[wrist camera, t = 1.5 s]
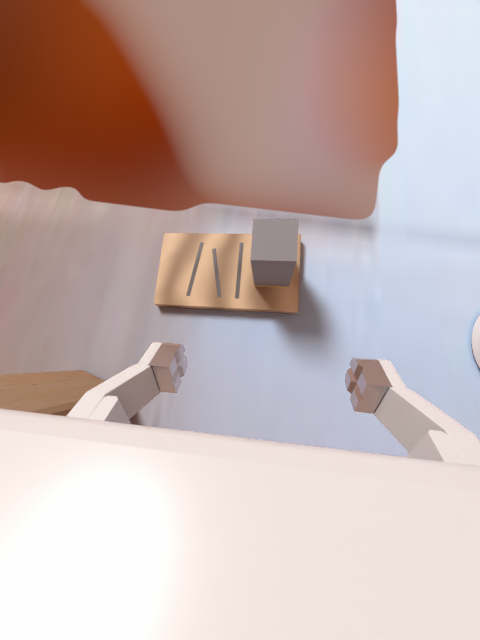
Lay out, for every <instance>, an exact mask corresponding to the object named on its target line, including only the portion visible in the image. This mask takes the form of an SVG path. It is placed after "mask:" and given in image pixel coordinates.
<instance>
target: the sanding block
mask: <svg viewBox="0 0 480 640" xmlns="http://www.w3.org/2000/svg"><path fill="white" fill-rule="evenodd" d="M297 244H298V219H253V232H252V245H251V258H250V261H251V267H252V273H253V280H254V286H258V287H284V288H289V285H290V282H291V278H292V275H293V272H294V269H295V265H296V262H297Z"/></svg>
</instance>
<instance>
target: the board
mask: <svg viewBox="0 0 480 640" xmlns="http://www.w3.org/2000/svg"><path fill="white" fill-rule="evenodd" d="M251 245H252V234H198V233H164V238H163V244H162V251H161V258H160V265H159V272H158V278H157V285H156V292H155V299H154V304H155V305H157V306H164V307H183V308H201V309H220V310H238V311H257V312H275V313H294V314H297V313H298V303H299V277H300V250H301V234H298V244H297V262H296V265H295V269H294V272H293V275H292V278H291V282H290V285H289V288H284V287H258V286H254V280H253V273H252V267H251V261H250V258H251Z"/></svg>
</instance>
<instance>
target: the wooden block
mask: <svg viewBox="0 0 480 640" xmlns="http://www.w3.org/2000/svg"><path fill="white" fill-rule="evenodd" d="M103 382H105V381H104V380H102V379H100V378H98V377H96V376H93V375H91V374H89V373H87V372H85V371H83V370H77V371H60V372H42V373H25V374H7V375H0V408H1V409H9V410H17V411H25V412H34V413H42V414H51V415H59V416H67V415H68V413H69V412H70V411H71V410H72V409H73V407H74V406H75V405H76V404H77V403H78V401H79V400H80V399H81V398H82V396H83V395H84V394H85V393H86V392H87V391H89V390H91V389H93V388H94V387H96V386H98V385H99V384H101V383H103Z"/></svg>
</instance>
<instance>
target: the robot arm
mask: <svg viewBox="0 0 480 640" xmlns="http://www.w3.org/2000/svg"><path fill="white" fill-rule="evenodd" d="M472 350H473V354H474V357H475V360H476V362H477V364H478V366H479V368H480V315H479V317H478V318H477V320H476V322H475V324H474V327H473V331H472ZM184 352H185V348H184V345H181V344H172V343H160V342H153V343H152V344H151V345H150V347H149V348H148V350H147V351H146V353H145V354H144V355H143V357H142V358H141V360H140V361H139V363H138V364H137V365H135V364H134V365H133V366H131V367H129V368H127V369H126V370H124V371H122V372H120V373H119V374H117V375H115V376H113V377H112V378H110V379H108V380H106V381H105V382H103V383H101V384H99V385H98V386H96V387H94V388H93V389H91V390H89V391H87V392H86V393H85V394H84V395H83V396H82V398H81V399H80V400H79V401H78V403H77V404H76V405H75V406H74V407H73V409H72V410H71V411H70V412H69V413H68V415H67V416H59V415H51V414H42V413H34V412H25V411H17V410H9V409H1V408H0V640H480V442H479V440H478V439H477V438H476V436H475V435H474V434H473V433H472V432H470V431H469V430H468V429H466V428H465V427H463V426H462V425H461V424H459V423H458V422H456V421H455V420H453V419H452V418H451V417H449V416H448V415H446V414H445V413H444V412H442V411H441V410H439V409H438V408H437V407H435V406H434V405H432V404H431V403H429V402H428V401H427V400H425V399H424V398H422V397H421V396H420V395H418V394H417V393H415V392H414V391H413V390H411V389H407V388H406V386H405V385H404V383H403V381H402V380H401V378H400V376H399V375H398V373H397V371H396V370H395V368H394V366H393V365H392V363H391V362H390V361H389V360H380V359H364V358H353V359H352V360H351V362H350V366H351V368H350V369H349V370H347V372H346V375H345V384H346V388H347V390H348V391H349V392H350V393H351V394H352V395H351V397H350V400H351V403H352V406H353V409H354V411H357V412H365V413H373V414H374V415H375V416H376V417H377V418H378V419H379V421H380V422H381V423H382V424H383V425H384V426H385V427H386V428H387V429H388V430H389V431H390V432H391V434H392V435H393V436H394V437H395V438H396V439H397V440H398V441H399V442H400V443H401V444H402V445H403V446H404V448H405V449H406V450H407V451H408V452H409V454H408V455H407V456H406V457H401V456H393V455H384V454H376V453H368V452H359V451H351V450H343V449H334V448H326V447H317V446H309V445H301V444H292V443H284V442H275V441H267V440H259V439H250V438H242V437H234V436H225V435H217V434H209V433H200V432H192V431H184V430H175V429H167V428H159V427H150V426H142V425H134V424H131V422H130V420H129V419H130V418H131V417H133V416H134V415H135V414H136V413H137V412H138V411H139V410H141V409H142V408H143V407H144V406H145V405H146V404H148V403H149V402H150V401H151V400H152V399H153V398H154V397H156V396H157V395H158V394H159V393H160V392H169V393H177V391H178V388H179V386H180V384H181V379H180V378H181V377H182V376H184V374H185V372H186V368H187V358H186V356H185V355H184Z"/></svg>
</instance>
